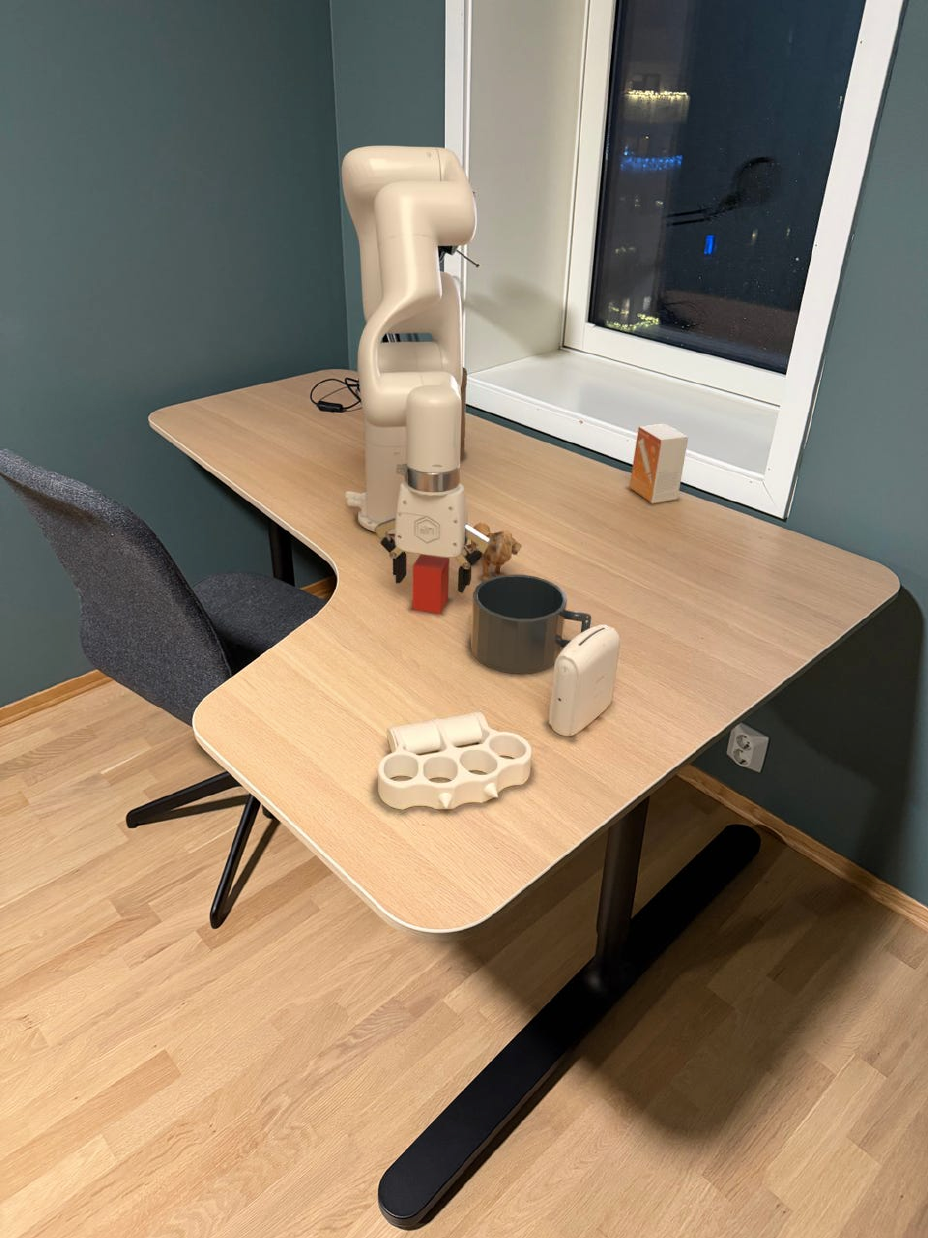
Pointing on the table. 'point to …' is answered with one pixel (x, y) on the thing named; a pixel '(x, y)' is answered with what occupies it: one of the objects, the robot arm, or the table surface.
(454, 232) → the robot arm
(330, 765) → the table surface
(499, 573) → the lion figurine
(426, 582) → the red block
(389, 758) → the knuckle duster
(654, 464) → the small box
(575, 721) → the photo printer
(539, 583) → the dark gray mug
